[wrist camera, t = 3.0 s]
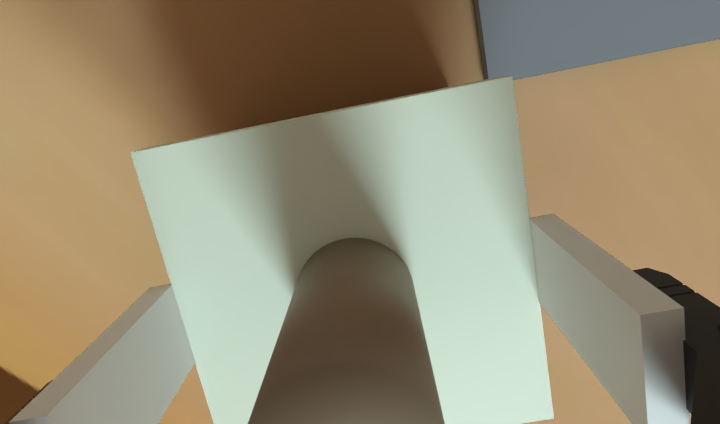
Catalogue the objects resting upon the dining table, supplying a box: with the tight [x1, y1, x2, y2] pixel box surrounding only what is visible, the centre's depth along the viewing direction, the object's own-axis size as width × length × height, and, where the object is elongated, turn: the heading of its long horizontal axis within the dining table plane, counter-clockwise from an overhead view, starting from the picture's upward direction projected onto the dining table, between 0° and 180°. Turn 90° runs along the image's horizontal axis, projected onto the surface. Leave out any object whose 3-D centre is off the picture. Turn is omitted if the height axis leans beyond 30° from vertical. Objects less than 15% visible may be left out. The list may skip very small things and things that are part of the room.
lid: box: [131, 76, 554, 424], centre depth 13 cm, size 11×11×8 cm
